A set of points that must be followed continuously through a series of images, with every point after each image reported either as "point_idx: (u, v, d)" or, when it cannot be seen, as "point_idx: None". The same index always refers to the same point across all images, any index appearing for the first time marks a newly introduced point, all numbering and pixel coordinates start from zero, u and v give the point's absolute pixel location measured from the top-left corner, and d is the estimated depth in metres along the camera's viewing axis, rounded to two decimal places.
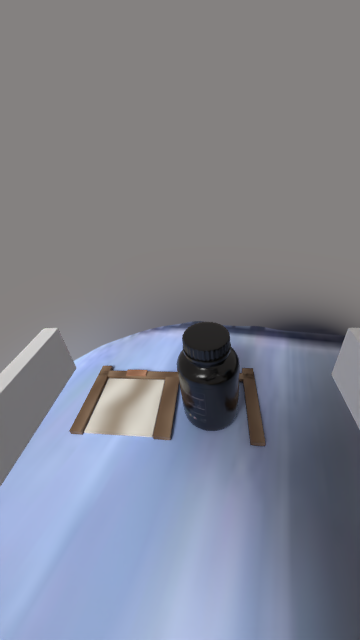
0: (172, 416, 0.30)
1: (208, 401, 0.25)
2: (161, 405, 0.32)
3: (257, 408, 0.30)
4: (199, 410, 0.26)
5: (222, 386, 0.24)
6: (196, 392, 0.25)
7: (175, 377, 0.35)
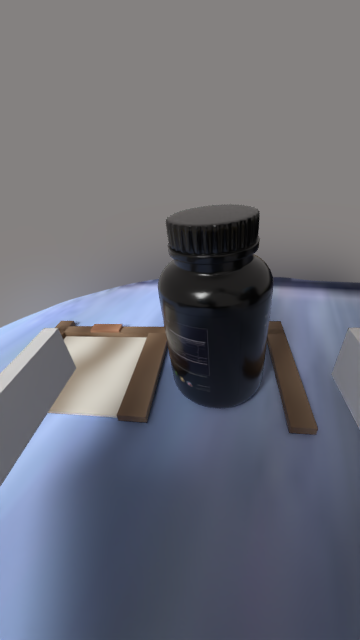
0: (153, 385, 0.18)
1: (214, 345, 0.13)
2: (137, 369, 0.20)
3: (294, 373, 0.18)
4: (197, 367, 0.15)
5: (244, 312, 0.12)
6: (191, 326, 0.13)
7: (163, 333, 0.23)
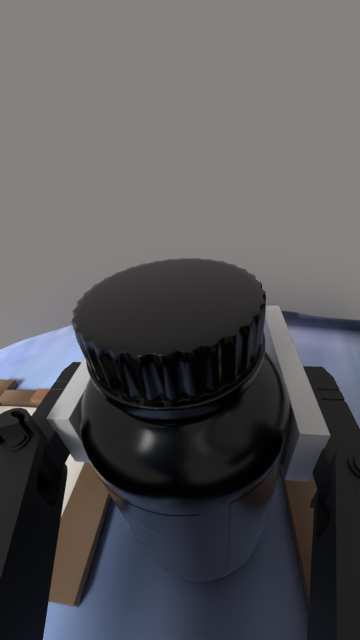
0: (98, 519, 0.12)
1: (177, 540, 0.07)
2: (80, 482, 0.13)
3: None
4: (153, 547, 0.08)
5: (234, 502, 0.06)
6: (131, 512, 0.06)
7: None
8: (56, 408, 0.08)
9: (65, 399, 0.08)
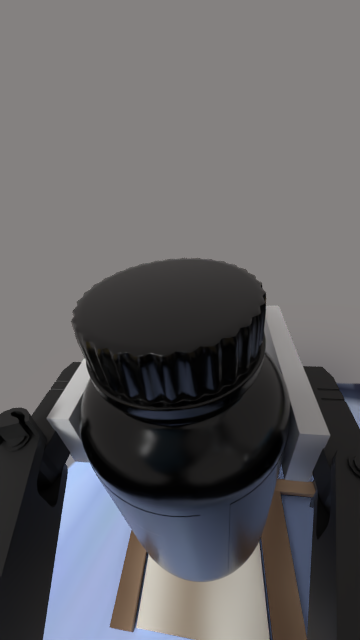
0: (297, 598, 0.16)
1: (177, 540, 0.07)
2: (268, 564, 0.18)
3: None
4: (153, 548, 0.08)
5: (234, 503, 0.06)
6: (131, 513, 0.06)
7: None
8: (56, 408, 0.08)
9: (65, 399, 0.08)
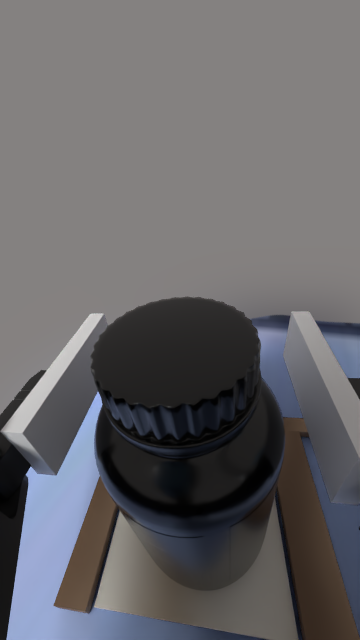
0: (334, 562, 0.11)
1: (183, 556, 0.08)
2: (288, 518, 0.12)
3: None
4: (161, 560, 0.09)
5: (234, 526, 0.07)
6: (142, 532, 0.07)
7: (290, 431, 0.16)
8: (12, 421, 0.08)
9: (23, 411, 0.08)
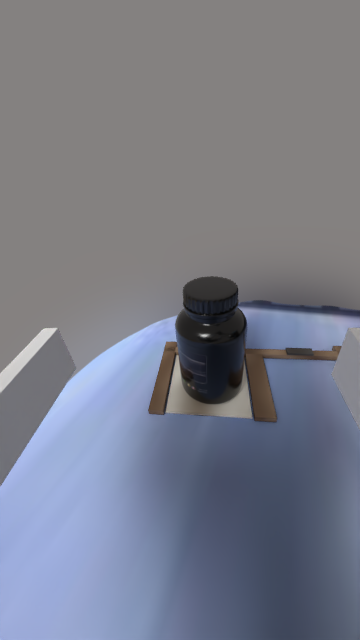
0: (270, 395, 0.25)
1: (210, 365, 0.22)
2: (252, 383, 0.27)
3: None
4: (199, 377, 0.23)
5: (228, 346, 0.21)
6: (197, 353, 0.21)
7: (257, 354, 0.30)
8: None
9: None
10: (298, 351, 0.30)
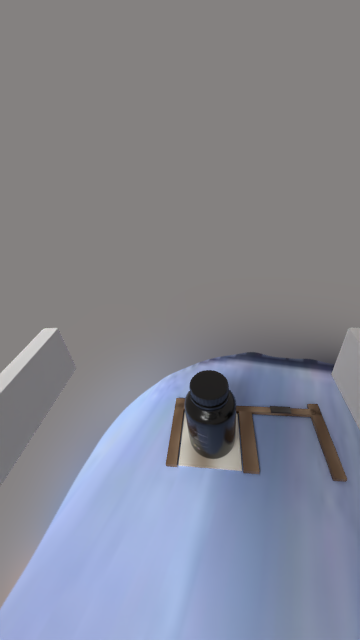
0: (256, 451, 0.34)
1: (210, 437, 0.31)
2: (243, 440, 0.36)
3: (331, 445, 0.34)
4: (202, 443, 0.32)
5: (222, 426, 0.30)
6: (200, 430, 0.30)
7: (248, 411, 0.39)
8: None
9: None
10: (279, 409, 0.39)
